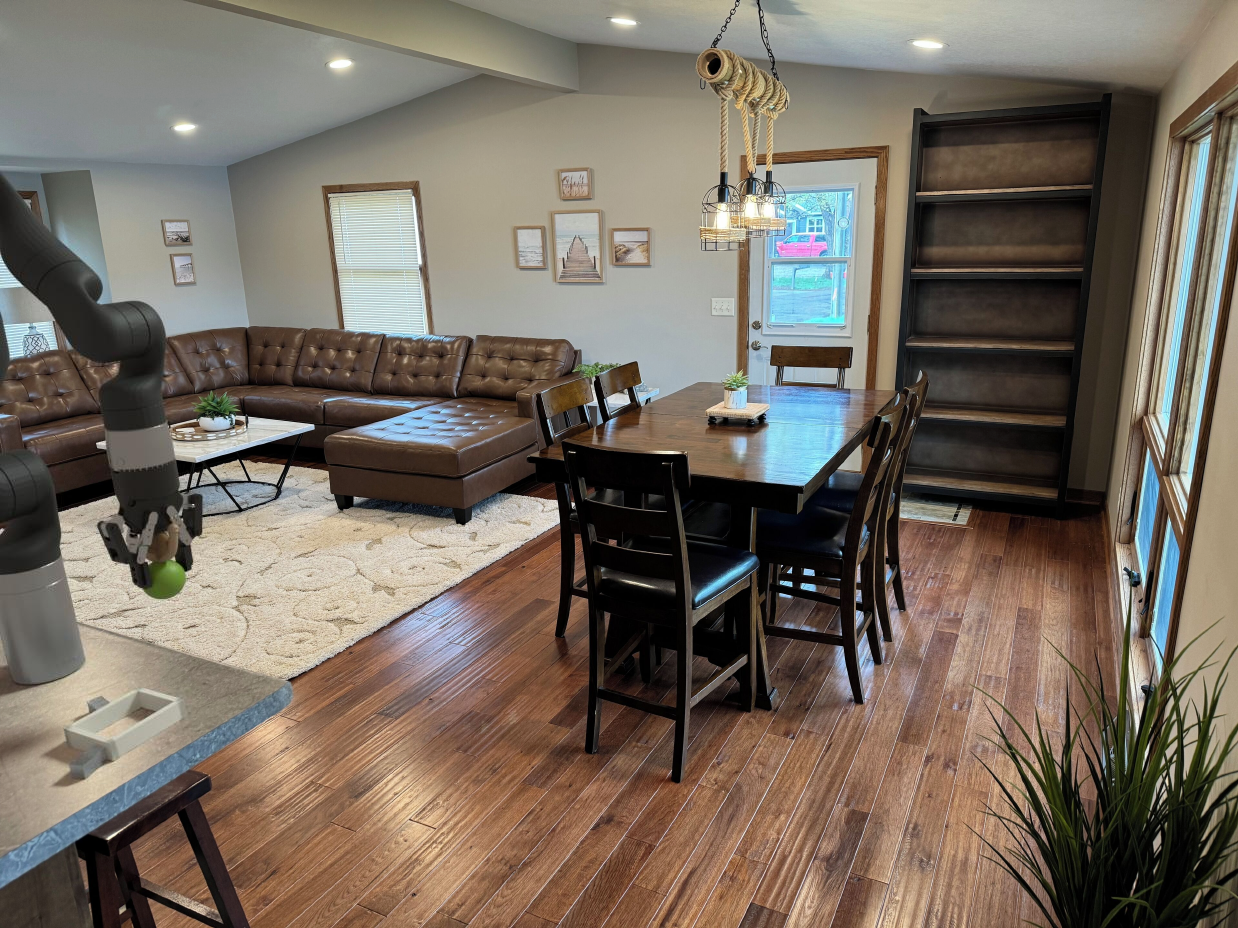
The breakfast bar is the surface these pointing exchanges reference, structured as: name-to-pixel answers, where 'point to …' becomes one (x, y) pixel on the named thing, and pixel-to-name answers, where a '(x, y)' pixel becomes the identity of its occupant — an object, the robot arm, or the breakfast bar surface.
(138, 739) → the white rectangular frame piece
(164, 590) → the snail figurine
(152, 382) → the robot arm
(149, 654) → the breakfast bar surface
